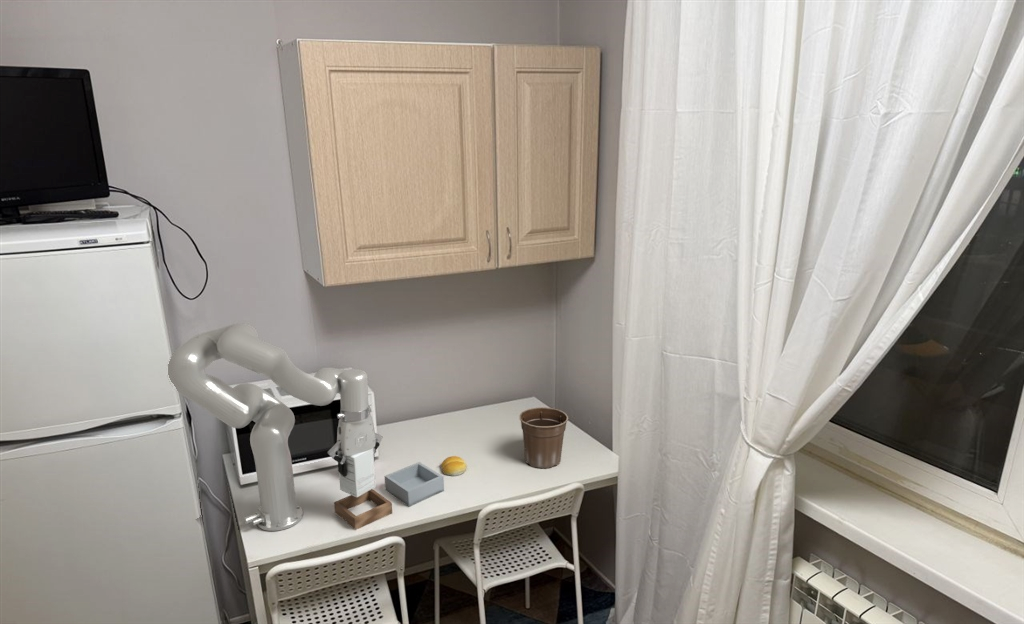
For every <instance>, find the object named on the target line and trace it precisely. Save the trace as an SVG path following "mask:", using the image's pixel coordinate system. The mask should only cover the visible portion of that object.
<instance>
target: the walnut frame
mask: <svg viewBox="0 0 1024 624" xmlns="http://www.w3.org/2000/svg"><path fill="white" fill-rule="evenodd" d="M368 501H370V502H371V503H373V504H374V505H376V507H374V508H372V509H369V510H367V511H364V512H362V513H360V514H358V515H356V514H354V513H353V512H352V511H351V510H350V509H352V508H354V507H357V506H359V505H362V504H363V503H366V502H368ZM392 503H393V502H391V501H390V500H389V499H387V498H386V497H385V496H383V495H381V494H380V492H377V491H376V490H375V489H374V488H373V489H371V490H369V491H367V492H366V493H364V494H362V495H360V496H359V497H354V496H352V495H350V494H349V495H347V496H346V497H343V498H341V499H340V498H339V499H337V500H336V501H333V507H334V514H336V515H337V516H338V517H340V519H342V520H343V521H344V522H346V523H347V524H348V525H349V526H350V527H352V529H354V530H355V531H356V530H359V529H361V528H363V527H365V526H367V525H370V524H373V523H374V522H377V521H379V520H381V519H383V518H385V517H388V516H389V515H392V514H393V504H392Z"/></svg>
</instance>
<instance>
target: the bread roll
mask: <svg viewBox="0 0 1024 624" xmlns="http://www.w3.org/2000/svg"><path fill="white" fill-rule="evenodd" d="M440 467H441V469H442V473H443V474H444V475H446V476H449V475H450V477H457V476H458V477H459V476H460V475H462V474H464V473H465V472H466V471H467V470H468V465H467V463H466V462H465V460H464V459H463V458H462V457H460V456H456V455H452V456H448V457H447V458H445V459H443V461H442V462H441V466H440Z"/></svg>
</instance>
